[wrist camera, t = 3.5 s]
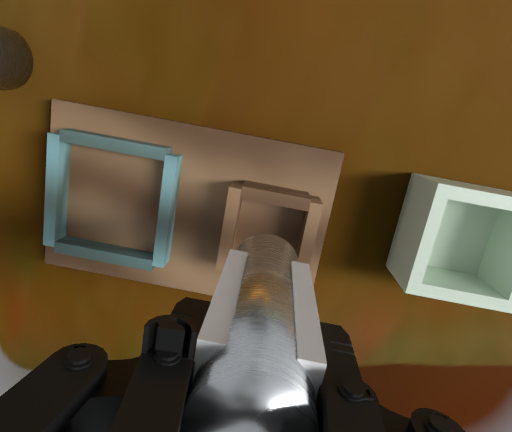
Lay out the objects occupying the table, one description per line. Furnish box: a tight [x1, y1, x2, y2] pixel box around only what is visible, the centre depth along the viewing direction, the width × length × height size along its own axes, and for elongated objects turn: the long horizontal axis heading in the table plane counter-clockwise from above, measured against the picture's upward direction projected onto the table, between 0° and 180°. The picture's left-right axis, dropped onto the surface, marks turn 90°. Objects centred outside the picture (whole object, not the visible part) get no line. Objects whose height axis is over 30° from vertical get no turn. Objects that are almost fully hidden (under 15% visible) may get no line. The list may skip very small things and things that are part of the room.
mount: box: [43, 99, 345, 295], centre depth 26 cm, size 12×20×4 cm, turn 80°
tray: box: [386, 173, 512, 313], centre depth 25 cm, size 7×7×5 cm
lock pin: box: [181, 234, 319, 432], centre depth 14 cm, size 3×3×10 cm
